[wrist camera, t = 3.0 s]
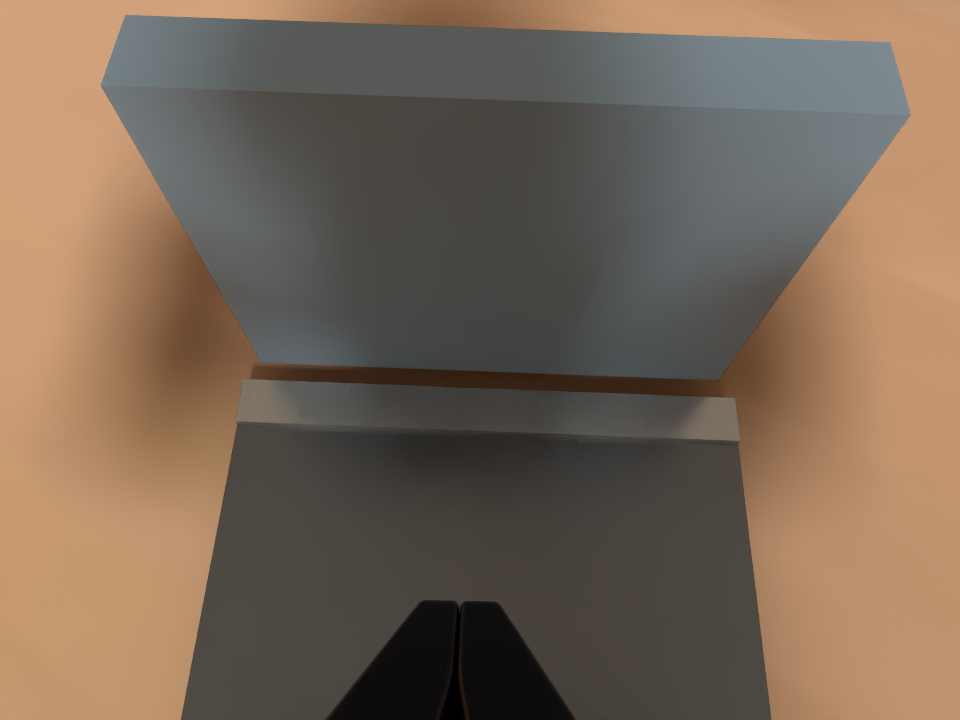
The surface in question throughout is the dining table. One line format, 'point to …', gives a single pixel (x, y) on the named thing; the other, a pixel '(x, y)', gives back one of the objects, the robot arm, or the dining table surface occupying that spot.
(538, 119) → the grey rectangular slab
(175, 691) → the dining table surface
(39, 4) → the dining table surface
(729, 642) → the plate
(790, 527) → the dining table surface
